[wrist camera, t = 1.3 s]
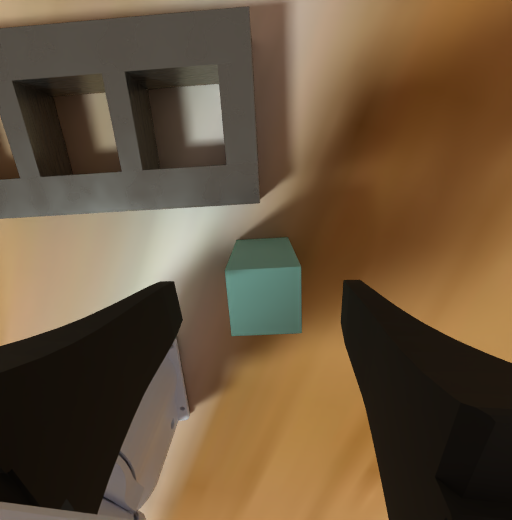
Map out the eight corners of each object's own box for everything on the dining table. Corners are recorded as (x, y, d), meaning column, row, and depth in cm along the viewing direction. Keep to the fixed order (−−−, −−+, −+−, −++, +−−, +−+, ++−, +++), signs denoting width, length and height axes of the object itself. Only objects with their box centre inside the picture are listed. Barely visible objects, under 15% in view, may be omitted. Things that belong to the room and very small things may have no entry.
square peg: (288, 284, 21) (301, 333, 15) (240, 286, 22) (231, 336, 15) (287, 237, 20) (301, 266, 13) (236, 240, 20) (224, 270, 14)
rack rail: (260, 199, 19) (259, 203, 16) (-24, 216, 20) (-71, 223, 17) (251, 36, 16) (249, 6, 13) (-82, 64, 17) (-151, 41, 14)
